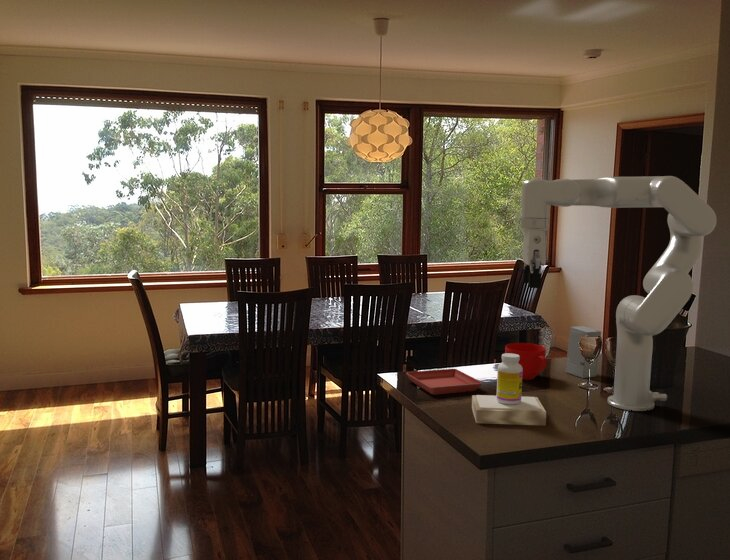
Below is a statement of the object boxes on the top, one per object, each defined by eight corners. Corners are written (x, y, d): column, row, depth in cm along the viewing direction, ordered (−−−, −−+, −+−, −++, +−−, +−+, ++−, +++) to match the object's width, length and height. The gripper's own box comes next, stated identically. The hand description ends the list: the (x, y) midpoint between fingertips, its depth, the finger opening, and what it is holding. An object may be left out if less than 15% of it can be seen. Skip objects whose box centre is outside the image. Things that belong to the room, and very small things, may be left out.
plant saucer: (455, 377, 225) (455, 367, 225) (483, 392, 209) (484, 382, 208) (404, 382, 219) (405, 372, 218) (430, 398, 202) (430, 387, 202)
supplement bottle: (521, 406, 182) (524, 358, 180) (496, 404, 183) (498, 357, 181) (520, 398, 188) (522, 353, 187) (496, 397, 189) (497, 351, 188)
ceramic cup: (527, 387, 213) (529, 356, 212) (496, 373, 229) (497, 344, 227) (560, 383, 219) (562, 352, 217) (528, 370, 234) (529, 341, 233)
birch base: (536, 409, 192) (537, 395, 191) (545, 425, 179) (546, 410, 178) (471, 407, 193) (472, 393, 192) (476, 423, 180) (476, 408, 179)
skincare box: (564, 372, 231) (567, 326, 229) (580, 370, 235) (582, 325, 233) (583, 379, 224) (586, 331, 222) (599, 376, 227) (602, 329, 225)
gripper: (554, 226, 182) (551, 290, 184) (542, 223, 199) (539, 281, 201) (525, 225, 182) (523, 289, 184) (515, 222, 199) (513, 281, 202)
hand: (531, 285), depth 193 cm, fingers open, 9 cm apart
